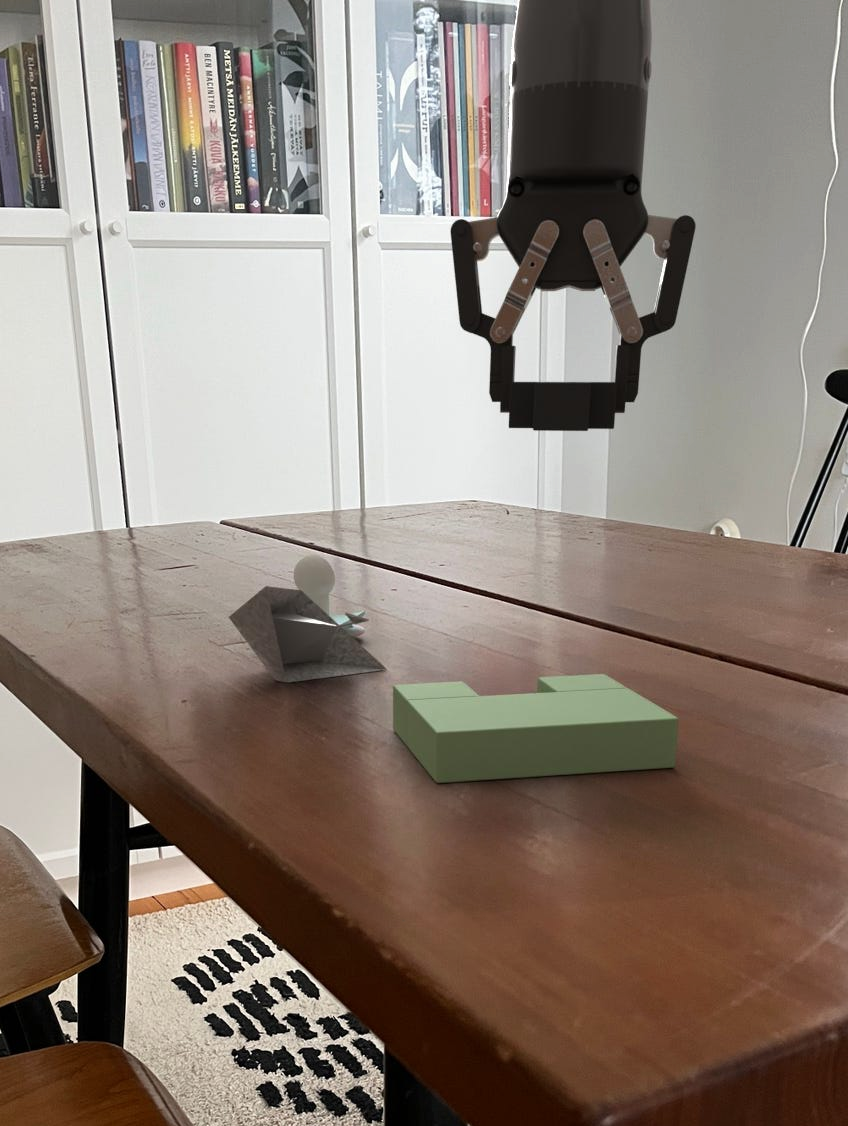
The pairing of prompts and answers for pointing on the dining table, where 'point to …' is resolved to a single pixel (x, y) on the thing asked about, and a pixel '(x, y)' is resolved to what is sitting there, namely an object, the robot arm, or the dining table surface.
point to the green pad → (533, 729)
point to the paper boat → (300, 637)
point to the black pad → (562, 405)
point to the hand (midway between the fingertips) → (561, 411)
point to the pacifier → (322, 588)
